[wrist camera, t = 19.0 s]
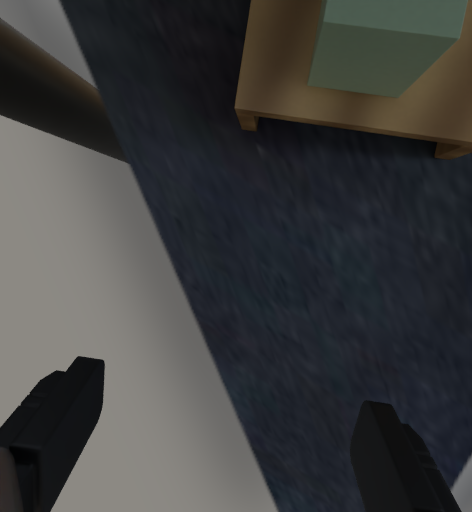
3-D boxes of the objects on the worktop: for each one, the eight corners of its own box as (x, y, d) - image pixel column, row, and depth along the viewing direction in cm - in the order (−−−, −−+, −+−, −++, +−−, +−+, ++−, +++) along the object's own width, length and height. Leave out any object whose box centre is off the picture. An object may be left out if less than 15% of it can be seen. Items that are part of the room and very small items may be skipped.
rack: (241, 129, 31) (228, 93, 22) (269, -47, 29) (268, -162, 20) (449, 159, 30) (526, 134, 21) (489, -23, 28) (590, -134, 19)
